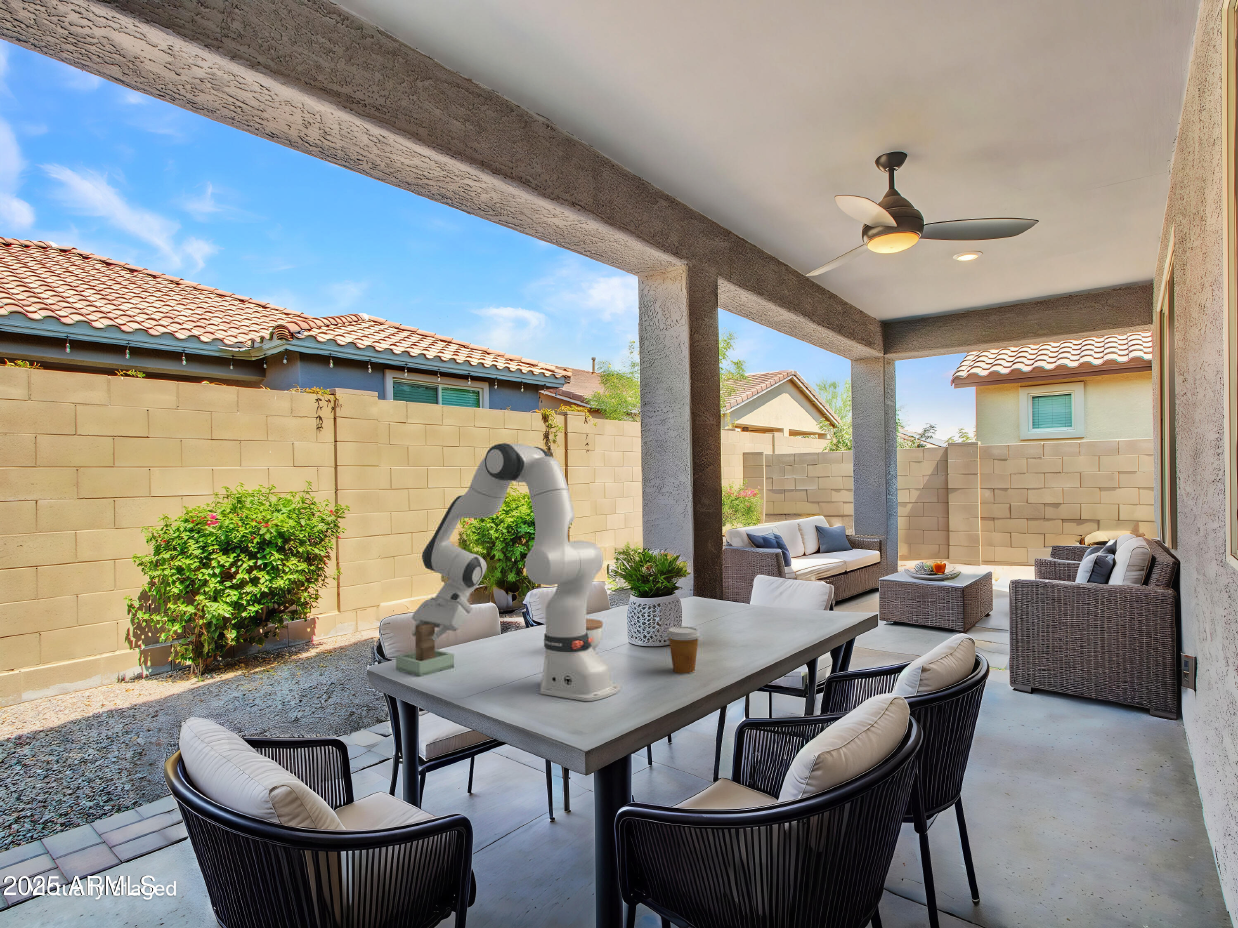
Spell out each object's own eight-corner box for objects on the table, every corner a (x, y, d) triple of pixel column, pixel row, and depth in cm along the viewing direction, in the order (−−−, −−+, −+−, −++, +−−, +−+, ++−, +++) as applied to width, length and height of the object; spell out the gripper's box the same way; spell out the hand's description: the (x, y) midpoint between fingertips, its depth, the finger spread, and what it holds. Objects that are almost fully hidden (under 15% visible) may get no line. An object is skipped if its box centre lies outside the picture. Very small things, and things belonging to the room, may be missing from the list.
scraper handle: (436, 665, 195) (436, 625, 196) (425, 668, 192) (425, 627, 193) (424, 662, 199) (424, 622, 199) (413, 664, 196) (413, 624, 196)
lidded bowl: (586, 656, 207) (585, 621, 207) (557, 651, 215) (556, 617, 215) (610, 648, 217) (610, 615, 217) (581, 643, 225) (581, 611, 225)
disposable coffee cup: (702, 667, 194) (701, 626, 194) (697, 676, 184) (697, 633, 185) (671, 665, 196) (670, 625, 196) (664, 674, 187) (664, 632, 187)
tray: (453, 667, 197) (453, 653, 197) (419, 676, 187) (419, 662, 187) (430, 660, 204) (430, 648, 204) (396, 669, 195) (396, 656, 195)
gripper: (424, 590, 208) (397, 626, 200) (464, 597, 195) (437, 635, 187) (435, 602, 212) (409, 638, 204) (476, 609, 199) (450, 648, 191)
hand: (423, 637), depth 195 cm, fingers open, 8 cm apart
